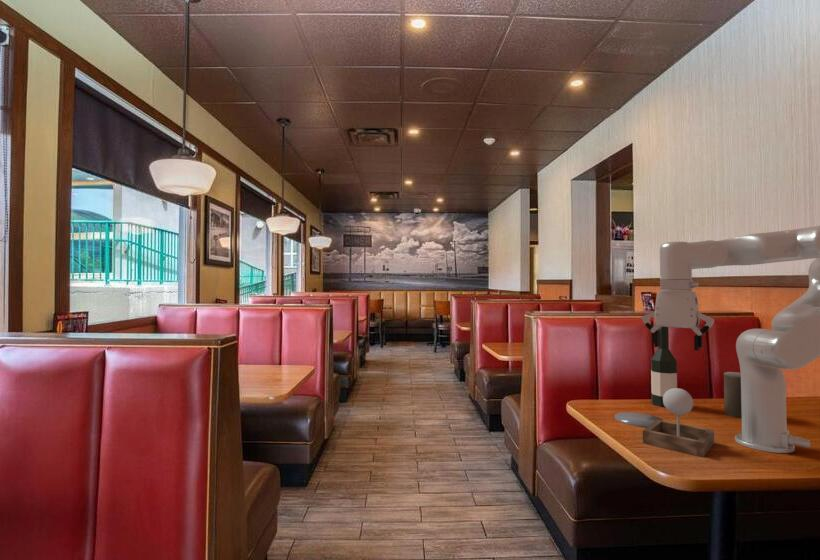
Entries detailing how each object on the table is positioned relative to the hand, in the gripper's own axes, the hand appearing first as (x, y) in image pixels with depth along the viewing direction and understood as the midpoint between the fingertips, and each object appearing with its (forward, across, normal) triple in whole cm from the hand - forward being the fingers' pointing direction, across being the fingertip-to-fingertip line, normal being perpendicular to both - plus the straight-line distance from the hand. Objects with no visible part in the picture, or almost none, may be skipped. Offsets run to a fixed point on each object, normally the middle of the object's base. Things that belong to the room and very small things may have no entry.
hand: (676, 348), depth 118 cm
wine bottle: (+26, +13, -40) cm, 50 cm away
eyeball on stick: (+26, 0, 0) cm, 26 cm away
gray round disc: (+26, +14, -14) cm, 33 cm away
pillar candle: (+26, -9, -45) cm, 53 cm away
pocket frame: (+26, 0, 0) cm, 26 cm away
